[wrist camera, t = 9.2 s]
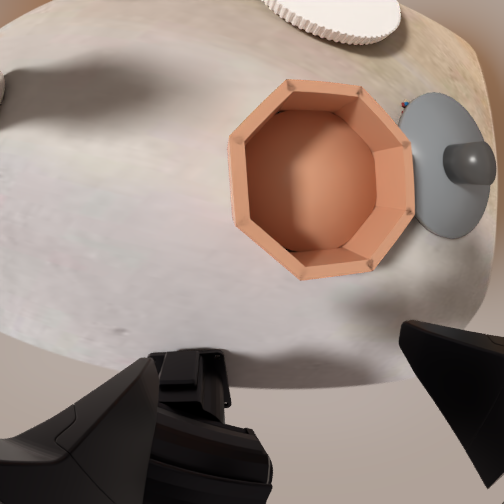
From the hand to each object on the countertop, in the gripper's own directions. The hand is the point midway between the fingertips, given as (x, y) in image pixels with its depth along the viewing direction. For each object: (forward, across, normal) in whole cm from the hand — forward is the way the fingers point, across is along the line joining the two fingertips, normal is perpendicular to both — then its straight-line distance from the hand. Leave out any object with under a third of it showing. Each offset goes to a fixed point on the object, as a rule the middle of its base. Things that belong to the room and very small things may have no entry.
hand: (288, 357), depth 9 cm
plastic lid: (+13, -9, -25) cm, 29 cm away
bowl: (+12, -5, -6) cm, 14 cm away
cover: (+11, -19, -8) cm, 23 cm away
